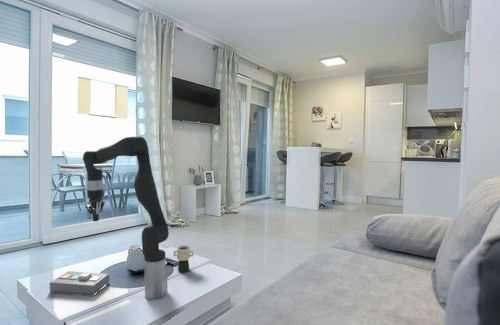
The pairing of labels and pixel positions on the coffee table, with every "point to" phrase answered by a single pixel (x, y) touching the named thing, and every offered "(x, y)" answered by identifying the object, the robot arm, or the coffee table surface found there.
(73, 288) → the keypad board
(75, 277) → the teal key
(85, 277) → the grey key
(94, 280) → the block
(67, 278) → the terracotta key
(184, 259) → the character mug
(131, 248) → the soda can
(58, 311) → the coffee table surface
